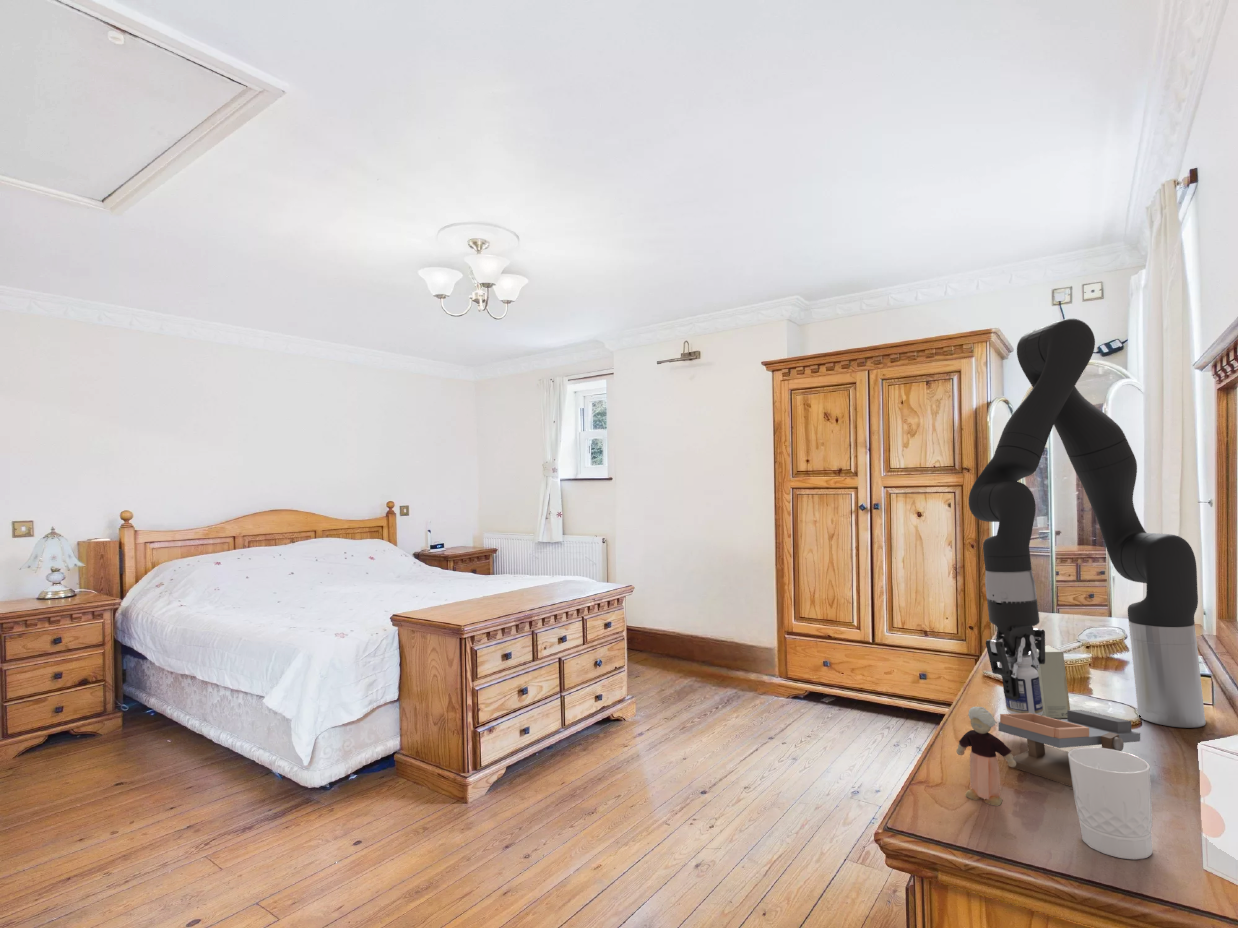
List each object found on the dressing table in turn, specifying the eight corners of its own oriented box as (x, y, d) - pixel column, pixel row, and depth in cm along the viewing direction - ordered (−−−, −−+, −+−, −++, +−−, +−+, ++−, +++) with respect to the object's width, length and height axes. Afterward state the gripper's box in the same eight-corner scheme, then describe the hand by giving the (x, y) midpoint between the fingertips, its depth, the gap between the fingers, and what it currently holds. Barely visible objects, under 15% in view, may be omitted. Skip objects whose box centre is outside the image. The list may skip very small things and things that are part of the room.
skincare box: (1071, 719, 119) (1065, 651, 119) (1045, 718, 120) (1039, 652, 120) (1056, 708, 125) (1050, 644, 126) (1030, 707, 126) (1025, 644, 126)
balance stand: (1044, 750, 105) (1039, 706, 106) (1146, 780, 93) (1141, 730, 93) (1007, 765, 100) (1003, 719, 101) (1110, 799, 88) (1105, 746, 89)
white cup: (1164, 869, 72) (1155, 777, 72) (1078, 852, 76) (1069, 765, 77) (1152, 836, 78) (1143, 752, 79) (1073, 823, 83) (1066, 743, 83)
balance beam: (1079, 726, 106) (1079, 708, 106) (1140, 741, 98) (1140, 722, 99) (998, 730, 96) (998, 711, 96) (1058, 747, 88) (1058, 726, 89)
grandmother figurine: (954, 798, 91) (947, 706, 92) (961, 788, 94) (953, 699, 95) (1018, 812, 86) (1009, 715, 87) (1022, 801, 89) (1014, 707, 90)
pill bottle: (1032, 706, 114) (1026, 650, 114) (1050, 716, 108) (1043, 657, 109) (1000, 708, 114) (994, 652, 115) (1016, 718, 109) (1009, 659, 109)
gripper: (1013, 589, 119) (1023, 682, 118) (965, 599, 112) (976, 698, 111) (1056, 592, 113) (1068, 690, 112) (1008, 604, 106) (1020, 709, 105)
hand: (1022, 694), depth 111 cm, fingers closed on pill bottle, 5 cm apart
